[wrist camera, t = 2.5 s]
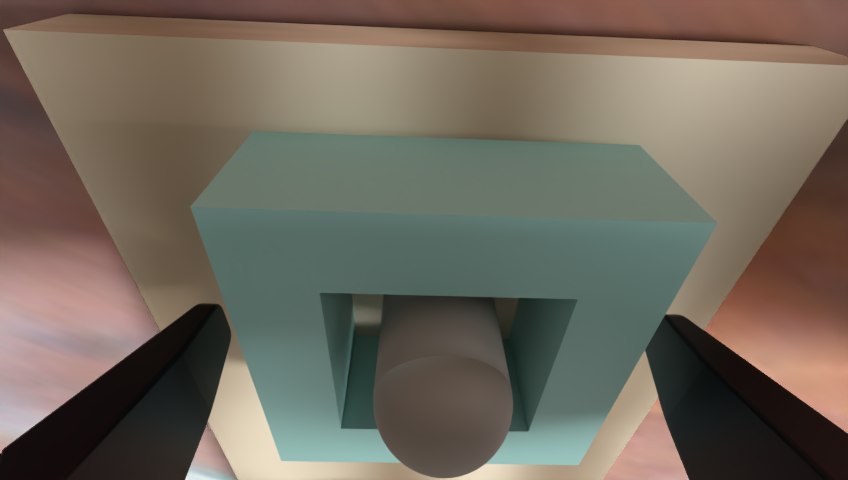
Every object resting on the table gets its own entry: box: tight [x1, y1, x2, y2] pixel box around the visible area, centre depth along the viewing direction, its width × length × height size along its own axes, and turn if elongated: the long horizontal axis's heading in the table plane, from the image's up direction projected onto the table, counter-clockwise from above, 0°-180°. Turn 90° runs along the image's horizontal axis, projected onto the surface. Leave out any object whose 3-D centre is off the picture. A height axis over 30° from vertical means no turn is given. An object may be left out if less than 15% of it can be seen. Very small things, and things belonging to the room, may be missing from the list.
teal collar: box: [191, 131, 718, 465], centre depth 9 cm, size 7×7×2 cm
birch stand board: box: [3, 14, 848, 480], centre depth 12 cm, size 14×22×6 cm, turn 178°
